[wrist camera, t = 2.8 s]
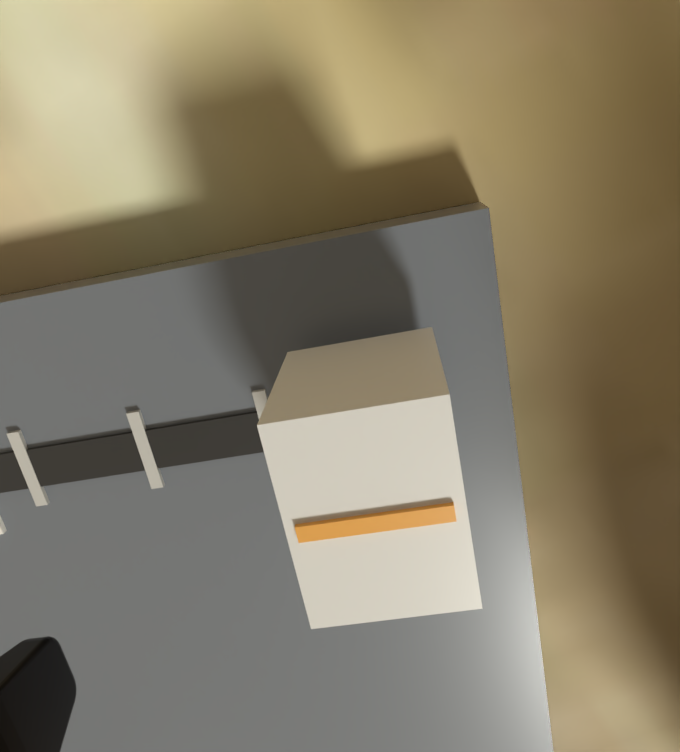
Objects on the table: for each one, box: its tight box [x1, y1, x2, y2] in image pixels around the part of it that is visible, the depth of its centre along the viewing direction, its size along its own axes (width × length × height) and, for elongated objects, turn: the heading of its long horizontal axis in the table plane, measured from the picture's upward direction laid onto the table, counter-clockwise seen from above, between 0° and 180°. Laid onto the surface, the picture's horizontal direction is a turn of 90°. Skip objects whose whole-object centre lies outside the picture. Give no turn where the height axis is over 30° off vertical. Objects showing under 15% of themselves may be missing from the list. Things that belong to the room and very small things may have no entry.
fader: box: [257, 327, 483, 629], centre depth 13 cm, size 3×4×4 cm
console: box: [0, 202, 553, 752], centre depth 16 cm, size 20×19×6 cm
